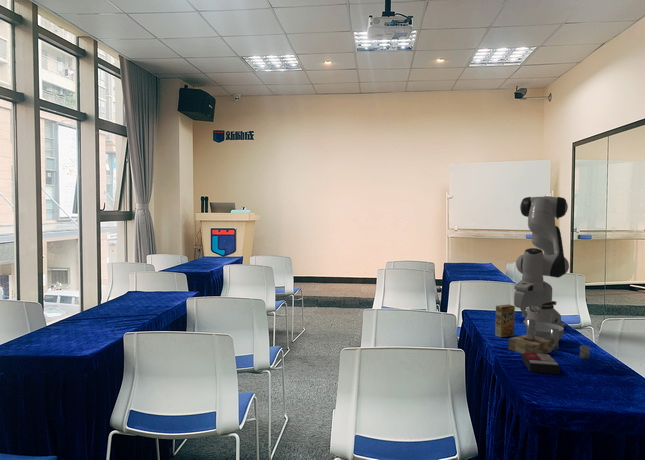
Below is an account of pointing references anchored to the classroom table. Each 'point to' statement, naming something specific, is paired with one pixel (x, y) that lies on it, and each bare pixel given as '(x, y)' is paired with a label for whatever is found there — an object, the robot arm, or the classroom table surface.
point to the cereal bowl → (546, 330)
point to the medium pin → (554, 338)
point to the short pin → (584, 352)
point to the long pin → (530, 330)
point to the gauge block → (530, 345)
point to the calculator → (540, 363)
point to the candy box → (504, 320)
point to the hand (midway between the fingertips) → (531, 315)
